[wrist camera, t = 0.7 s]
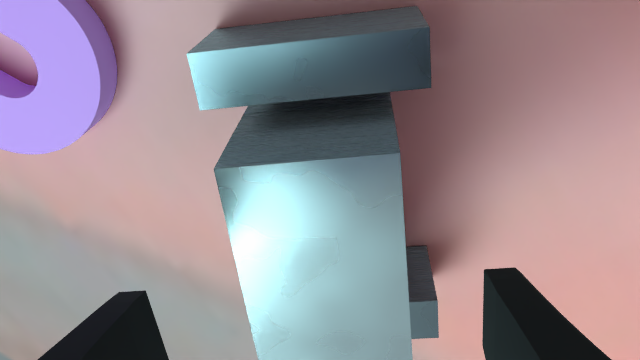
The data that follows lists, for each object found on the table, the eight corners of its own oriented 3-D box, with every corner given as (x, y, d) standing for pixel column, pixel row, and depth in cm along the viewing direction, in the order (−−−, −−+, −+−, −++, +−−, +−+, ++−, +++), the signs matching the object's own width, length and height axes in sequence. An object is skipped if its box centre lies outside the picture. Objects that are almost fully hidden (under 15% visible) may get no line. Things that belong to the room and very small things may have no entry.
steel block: (386, 72, 16) (400, 153, 11) (397, 236, 19) (413, 364, 14) (259, 85, 17) (214, 168, 12) (287, 243, 20) (261, 370, 14)
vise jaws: (416, 5, 15) (429, 27, 13) (430, 358, 22) (441, 422, 19) (215, 29, 16) (186, 53, 13) (284, 365, 22) (274, 427, 20)
